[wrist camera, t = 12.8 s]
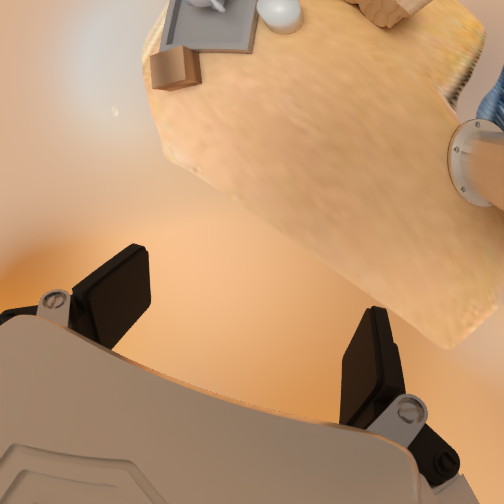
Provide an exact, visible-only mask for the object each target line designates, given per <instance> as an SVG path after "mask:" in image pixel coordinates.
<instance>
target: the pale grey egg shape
mask: <svg viewBox="0 0 504 504" xmlns="http://www.w3.org/2000/svg"><path fill="white" fill-rule="evenodd" d="M257 11H258V13H259V15H260V16H261V18H262V19H263V21H264V22H265V24H266V25H267V27H268V28H269V29H270V30H271V31H273V32H275V33H278V34H290V33H293V32H295V31H297V30H298V29H299V28H300V27H301V25H302V23H303V16H302V12H301V9H300V5H299V1H298V0H258V2H257Z"/></svg>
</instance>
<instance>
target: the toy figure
mask: <svg viewBox="0 0 504 504" xmlns="http://www.w3.org/2000/svg"><path fill="white" fill-rule="evenodd" d="M183 1H184V2H185V3H186V4H188V5H190V6H195V7H208V6H211V7H212V8H213V9H215V10H218V11H219V12H221V13H224V12H225V8H224V7H223V6H224V0H183Z"/></svg>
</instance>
